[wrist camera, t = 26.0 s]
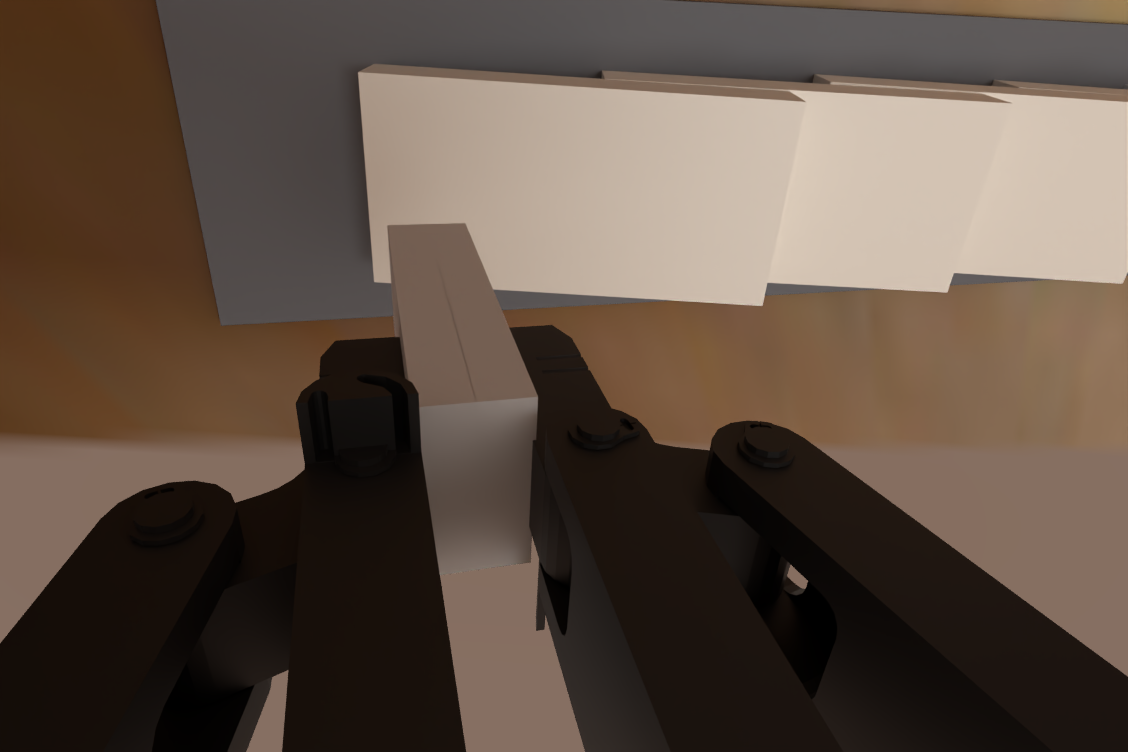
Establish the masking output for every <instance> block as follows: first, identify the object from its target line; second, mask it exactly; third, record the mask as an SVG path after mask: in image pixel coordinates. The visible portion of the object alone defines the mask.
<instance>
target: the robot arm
mask: <svg viewBox="0 0 1128 752" xmlns="http://www.w3.org/2000/svg"><path fill="white" fill-rule="evenodd" d="M387 229H388V244H389V259H390V273H391V288H392V303H393V318H394V332H395V337H389V338H372V339H356V340H340V341H335V342H334V343H333V344H332V345H331V346H330V347H329V349H328V350H327V351H326V352H325V353H324V354H323V355H322V356H321V360H320V375H319V376H320V379H319V380H316V381H315V382H313V383H312V384H311V385H309V386H308V387H307V388H305V389H304V390H303V391H302V392H301V394H300V396H299V398H298V400H297V402H296V409H297V415H298V422H299V429H300V435H301V442H302V448H303V455H304V461H305V470H304V471H302V472H301V473H300V474H299V475H298V476H297V477H295V478H294V479H293V480H291V481H290V482H288V483H286V484H284V485H283V486H281V487H279V488H277V489H274V490H272V491H270V492H267V493H264V494H262V495H259V496H256V497H252V498H249V499H246V500H243V501H240V502H236V503H235V502H234V500H233V497H232V495H231V493H229V492H228V491H226V490H224V489H223V488H221V487H219V486H218V485H216V484H211V483H205V482H199V481H184V482H172V483H166V484H163V485H160V486H156V487H153V488H149V489H146V490H142V491H140V492H139V493H137V494H135V495H133V496H131V497H129V498H127V499H125V500H123V501H122V502H119V503H118V504H117V505H116V506H115V507H114V508H112V509H111V510H110V511H109V512H108V513H107V514H106V515H104V517H102V518H101V519H100V520H99V522H98V523H97V524H96V525H95V527H94V528H93V529H92V530H91V532H90V533H89V534H88V535H87V537H86V538H85V539H84V540H83V542H82V543H81V544H80V545H79V546H78V548H77V549H76V550H75V551H74V553H73V554H72V555H71V556H70V558H69V559H68V560H67V562H66V563H65V564H64V565H63V566H62V568H61V569H60V570H59V571H58V573H57V574H56V575H55V576H54V578H53V579H52V580H51V581H50V582H49V584H48V585H47V586H46V587H45V589H44V590H43V591H42V592H41V594H40V595H39V596H38V597H37V599H36V600H35V601H34V602H33V604H32V605H31V606H30V607H29V609H28V610H27V611H26V612H25V613H24V615H23V616H22V617H21V619H20V620H19V621H18V622H17V624H16V625H15V626H14V627H13V628H12V630H11V631H10V632H9V633H8V635H7V636H6V637H5V638H4V640H3V641H2V642H1V643H0V752H246V750H247V748H248V746H249V743H250V740H251V738H252V735H253V733H254V730H255V727H256V725H257V722H258V719H259V717H260V715H261V712H262V709H263V707H264V704H265V702H266V699H267V696H268V694H269V691H270V687H271V680H272V677H273V676H275V675H277V674H280V673H282V672H284V671H287V670H289V672H288V685H287V698H286V711H285V723H284V736H283V748H282V752H466V749H465V741H464V735H463V728H462V721H461V715H460V708H459V701H458V694H457V687H456V681H455V674H454V668H453V660H452V654H451V647H450V640H449V634H448V627H447V620H446V614H445V607H444V600H443V594H442V586H441V580H440V575H445V574H452V573H459V572H466V571H473V570H480V569H487V568H494V567H501V566H508V565H516V564H523V563H529V562H531V541H532V537H533V540H534V543H535V546H536V550H537V553H538V556H539V572H538V590H537V591H538V592H537V609H536V630H537V631H538V630H544V627H545V615H546V618H547V622H548V625H549V629H550V632H551V635H552V639H553V642H554V646H555V649H556V653H557V656H558V660H559V663H560V666H561V670H562V673H563V677H564V680H565V683H566V687H567V691H568V694H569V697H570V701H571V704H572V708H573V711H574V715H575V718H576V722H577V725H578V729H579V732H580V735H581V739H582V742H583V745H584V749H585V752H1128V677H1127V676H1126V675H1124V674H1123V673H1122V672H1121V671H1119V670H1118V669H1117V668H1115V667H1114V666H1113V665H1111V664H1110V663H1108V662H1107V661H1106V660H1104V659H1103V658H1102V657H1100V656H1099V655H1098V654H1096V653H1095V652H1094V651H1092V650H1091V649H1089V648H1088V647H1086V646H1085V645H1084V644H1083V643H1081V642H1080V641H1079V640H1077V639H1076V638H1075V637H1073V636H1072V635H1070V634H1069V633H1068V632H1066V631H1065V630H1064V629H1062V628H1061V627H1060V626H1058V625H1057V624H1056V623H1054V622H1053V621H1051V620H1050V619H1049V618H1047V617H1046V616H1045V615H1043V614H1042V613H1041V612H1039V611H1038V610H1036V609H1035V608H1034V607H1033V606H1031V605H1030V604H1028V603H1027V602H1026V601H1024V600H1023V599H1021V598H1020V597H1019V596H1018V595H1016V594H1015V593H1014V592H1012V591H1011V590H1009V589H1008V588H1007V587H1005V586H1004V585H1003V584H1001V583H1000V582H999V581H997V580H996V579H995V578H993V577H992V576H990V575H989V574H988V573H986V572H985V571H984V570H982V569H981V568H980V567H978V566H977V565H976V564H974V563H973V562H971V561H970V560H969V559H967V558H966V557H965V556H963V555H962V554H961V553H959V552H958V551H957V550H955V549H954V548H952V547H951V546H950V545H948V544H947V543H946V542H944V541H943V540H942V539H940V538H939V537H938V536H936V535H935V534H933V533H932V532H931V531H929V530H928V529H927V528H925V527H924V526H923V525H921V524H920V523H919V522H917V521H916V520H915V519H913V518H912V517H910V516H909V515H907V514H906V513H905V512H904V511H902V510H901V509H900V508H898V507H897V506H896V505H894V504H892V503H891V502H890V501H889V500H887V499H886V498H885V497H883V496H882V495H881V494H879V493H878V492H877V491H875V490H874V489H872V488H871V487H870V486H868V485H867V484H865V483H864V482H863V481H862V480H860V479H859V478H857V477H856V476H855V475H853V474H852V473H851V472H849V471H848V470H847V469H845V468H844V467H842V466H841V465H840V464H839V463H837V462H836V461H834V460H833V459H832V458H830V457H829V456H828V455H826V454H825V453H824V452H822V451H821V450H820V449H818V448H817V447H815V446H814V445H813V444H811V443H810V442H809V441H807V440H806V439H805V438H803V437H801V436H799V435H798V434H796V433H794V432H792V431H791V430H789V429H787V428H783V427H780V426H777V425H774V424H772V423H768V422H761V421H760V422H758V421H742V422H734V423H730V424H728V425H726V426H724V427H722V428H720V429H718V430H717V432H716V433H715V435H714V437H713V438H712V441H711V447H710V451H709V450H700V449H690V448H680V447H673V446H667V445H661V444H657V443H655V442H654V440H653V439H652V437H651V435H650V434H649V432H648V431H647V429H646V428H645V427H644V426H643V425H642V424H641V423H640V422H639V421H638V420H637V419H636V418H634V417H632V416H630V415H628V414H626V413H624V412H622V411H619V410H615V409H611V407H610V405H609V403H608V402H607V400H606V398H605V396H604V394H603V393H602V391H601V389H600V387H599V386H598V384H597V382H596V380H595V379H594V377H593V375H592V373H591V372H590V370H588V366H587V364H586V363H585V361H584V359H583V357H581V354H580V352H579V350H578V349H577V347H576V345H575V343H574V342H573V340H572V338H571V337H569V336H568V335H566V334H565V333H563V332H562V331H560V330H559V329H557V328H556V327H554V326H553V325H546V326H530V327H514V328H509V326H508V324H507V321H506V319H505V317H504V314H503V312H502V309H501V307H500V305H499V302H498V300H497V298H496V295H495V293H494V290H493V288H492V286H491V283H490V281H489V278H488V276H487V274H486V271H485V269H484V267H483V264H482V262H481V259H480V257H479V255H478V252H477V250H476V247H475V245H474V243H473V240H472V238H471V235H470V233H469V231H468V228H467V226H466V224H465V223H450V224H411V225H387ZM790 564H791V565H792V566H793V567H794V568H795V569H796V570H797V571H798V572H799V573H801V575H803V576H804V577H805V578H806V579H807V580H808V583H807V587H806V589H802V588H800V587H799V586H797V585H795V583H793V582H792V581H791V580H790V579H789V578H788V577H787V574H788V570H789V567H790Z"/></svg>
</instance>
